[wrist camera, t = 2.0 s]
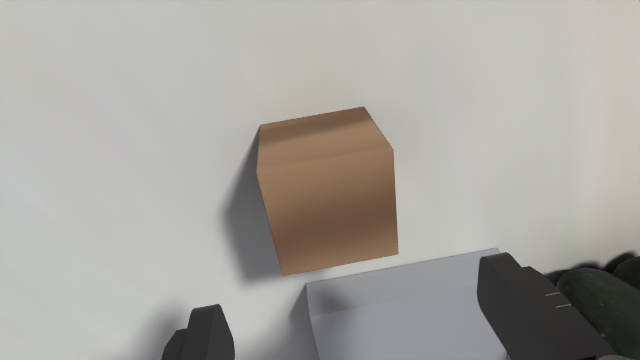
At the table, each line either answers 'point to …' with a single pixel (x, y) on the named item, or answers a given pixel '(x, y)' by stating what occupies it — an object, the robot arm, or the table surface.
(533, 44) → the table surface
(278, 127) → the walnut cube
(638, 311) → the squash
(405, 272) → the stone coaster
